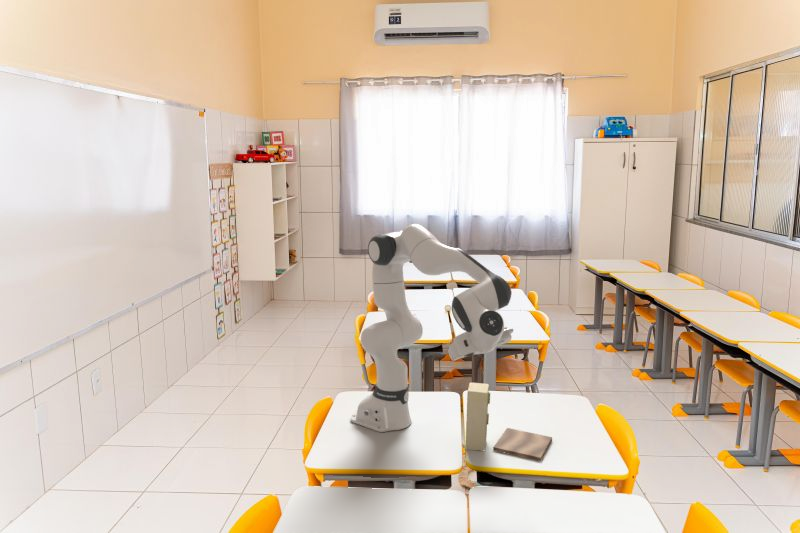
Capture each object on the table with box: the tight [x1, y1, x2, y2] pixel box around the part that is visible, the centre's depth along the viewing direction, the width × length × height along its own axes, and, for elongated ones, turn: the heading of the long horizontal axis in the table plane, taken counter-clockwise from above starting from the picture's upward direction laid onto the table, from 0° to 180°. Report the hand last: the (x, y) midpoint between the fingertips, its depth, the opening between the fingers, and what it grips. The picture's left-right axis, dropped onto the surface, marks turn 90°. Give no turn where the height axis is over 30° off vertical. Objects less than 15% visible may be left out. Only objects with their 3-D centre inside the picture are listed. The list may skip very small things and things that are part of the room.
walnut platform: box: [492, 427, 553, 462], centre depth 215 cm, size 16×16×1 cm
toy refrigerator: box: [465, 382, 491, 451], centre depth 213 cm, size 8×7×21 cm
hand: (477, 350), depth 205 cm, fingers open, 8 cm apart
